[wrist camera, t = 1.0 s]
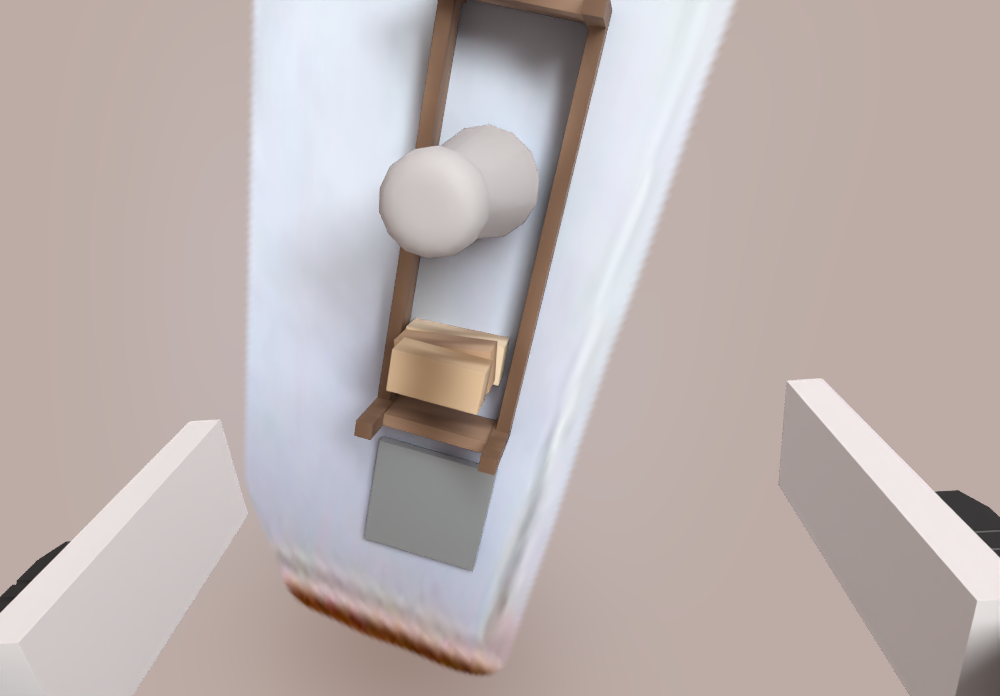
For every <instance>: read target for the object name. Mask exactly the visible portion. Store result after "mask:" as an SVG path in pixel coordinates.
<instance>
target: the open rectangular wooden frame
mask: <svg viewBox="0 0 1000 696" xmlns="http://www.w3.org/2000/svg"><path fill="white" fill-rule="evenodd" d="M475 1H480V2H485V3H490V4H495V5H500V6H504V7H509V8H514V9H519V10H524V11H528V12H533V13H538V14H543V15H548V16H552V17H557V18H562V19H567V20H572V21H576V22H581V23H586V26H587V28H589V30H588V35H587V39H586V43H585V48H584V52H583V56H582V61H581V65H580V69H579V74H578V78H577V82H576V86H575V91H574V95H573V99H572V104H571V108H570V112H569V117H568V121H567V125H566V130H565V134H564V138H563V143H562V147H561V151H560V156H559V160H558V164H557V169H556V173H555V177H554V182H553V186H552V190H551V195H550V199H549V203H548V207H547V212H546V216H545V220H544V225H543V229H542V233H541V238H540V242H539V246H538V251H537V255H536V259H535V264H534V268H533V272H532V277H531V281H530V285H529V290H528V294H527V298H526V303H525V307H524V311H523V316H522V320H521V324H520V328H519V333H518V337H517V341H516V346H515V350H514V354H513V359H512V363H511V367H510V372H509V376H508V380H507V385H506V389H505V393H504V398H503V402H502V406H501V411H500V415H499V418H498V419H497V421H495V420H492V419H488V418H484V417H481V416H477V415H474V414H470V413H466V412H463V411H459V410H456V409H452V408H448V407H445V406H441V405H438V404H434V403H430V402H427V401H423V400H420V399H416V398H412V397H409V396H405V395H401V394H398V393H394V392H390V391H387V390H386V388H387V381H388V375H389V368H390V361H391V354H392V349H393V348H394V339H396V338H397V337H398V336H399V335H400V334H401V333H402V332H403V331H404V330H405V329H406V326H407V325H408V324H409V322H410V316H411V310H412V304H413V298H414V292H415V286H416V280H417V274H418V268H419V262H420V256H419V255H417V254H414V253H411V252H408V251H405V250H404V249H403V248H402V247H400V254H399V260H398V267H397V274H396V280H395V287H394V293H393V300H392V306H391V313H390V320H389V326H388V333H387V339H386V346H385V352H384V359H383V365H382V372H381V379H380V385H379V392H378V397H377V399H376V400H375V401H374V402H373V403H372V404H371V405H370V406H369V407H368V408H367V409H366V411H365V412H364V413H363V414H362V415H361V416H360V417H359V418H358V419H357V420H356V427H355V434H354V436H358V437H361V438H365V439H368V440H371V439H372V438H373V436H374V435H375V434H376V433H377V431H378V430H379V429H380V428H381V426H382V425H384V426H387V427H391V428H395V429H398V430H402V431H405V432H409V433H412V434H416V435H419V436H423V437H426V438H430V439H433V440H437V441H440V442H444V443H447V444H451V445H454V446H458V447H462V448H465V449H469V450H472V451H476V452H479V453H482V455H481V458H480V462H479V467H478V471H480V472H483V473H487V474H490V475H494V476H495V473H496V470H497V468H498V465H499V462H500V460H501V457H502V455H503V452H504V449H505V447H506V444H507V442H508V439H509V436H510V432H511V428H512V424H513V420H514V416H515V412H516V408H517V403H518V399H519V395H520V391H521V387H522V383H523V379H524V374H525V370H526V366H527V362H528V358H529V354H530V349H531V345H532V341H533V337H534V333H535V329H536V325H537V320H538V316H539V312H540V308H541V304H542V300H543V296H544V291H545V287H546V283H547V279H548V275H549V271H550V267H551V262H552V258H553V254H554V250H555V246H556V242H557V237H558V233H559V229H560V225H561V221H562V217H563V213H564V208H565V204H566V200H567V196H568V192H569V188H570V184H571V179H572V175H573V171H574V167H575V163H576V159H577V155H578V150H579V146H580V142H581V138H582V134H583V130H584V126H585V121H586V117H587V113H588V109H589V105H590V101H591V96H592V92H593V88H594V84H595V80H596V76H597V72H598V67H599V63H600V59H601V55H602V51H603V47H604V43H605V38H606V34H607V30H608V26H609V22H610V18H611V14H612V7H611V1H610V0H475ZM462 2H464V3H466V0H438V5H437V11H436V18H435V24H434V31H433V37H432V44H431V51H430V57H429V64H428V70H427V77H426V83H425V90H424V96H423V103H422V110H421V116H420V123H419V129H418V136H417V142H416V149H419V148H425V147H431V146H439V140H440V134H441V128H442V122H443V116H444V110H445V104H446V98H447V92H448V85H449V79H450V73H451V67H452V61H453V55H454V49H455V43H456V37H457V31H458V25H459V19H460V13H461V7H462Z"/></svg>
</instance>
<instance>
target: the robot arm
mask: <svg viewBox="0 0 1000 696" xmlns="http://www.w3.org/2000/svg"><path fill="white" fill-rule="evenodd" d="M778 485H779V486H780V488H781V490H782V491H783V493H784V495H785V496H786V498H787V499H788V501H789V503H790V504H791V506H792V507H793V509H794V511H795V512H796V514H797V515H798V517H799V519H800V520H801V522H802V523H803V525H804V527H805V528H806V530H807V531H808V533H809V535H810V536H811V538H812V539H813V541H814V543H815V544H816V546H817V547H818V549H819V551H820V552H821V554H822V555H823V557H824V559H825V560H826V562H827V563H828V565H829V567H830V568H831V570H832V571H833V573H834V575H835V576H836V578H837V579H838V581H839V583H840V584H841V586H842V587H843V589H844V591H845V592H846V594H847V595H848V597H849V599H850V600H851V602H852V604H853V605H854V607H855V608H856V610H857V612H858V613H859V615H860V616H861V618H862V619H863V621H864V623H865V624H866V626H867V628H868V629H869V631H870V632H871V634H872V636H873V637H874V639H875V640H876V642H877V644H878V645H879V647H880V648H881V650H882V652H883V653H884V655H885V656H886V658H887V660H888V661H889V663H890V664H891V666H892V668H893V669H894V671H895V672H896V674H897V676H898V677H899V679H900V681H901V682H902V684H903V685H904V687H905V688H906V690H907V692H908V693H909V695H910V696H1000V517H999V516H998V515H997V514H996V513H995V512H993V510H991V509H990V508H989V507H988V506H985V505H984V504H982V503H980V502H978V501H976V500H975V499H973V498H971V497H969V496H967V495H965V494H964V493H962V492H960V491H958V490H956V491H938V492H934V491H933V490H932V489H931V488H930V487H929V486H928V485H927V484H926V483H925V482H924V481H923V480H922V479H921V478H920V477H919V476H918V475H917V474H916V473H915V472H914V471H913V470H912V469H911V468H910V467H909V466H908V465H907V464H906V463H905V462H904V461H903V460H902V459H901V458H900V457H899V456H898V455H897V454H896V453H895V452H894V451H893V450H892V449H891V448H890V447H889V446H888V445H887V444H886V442H885V441H884V440H883V439H882V438H880V436H879V435H878V434H876V432H875V431H873V430H872V428H871V427H870V426H869V425H868V424H867V423H866V422H865V421H864V420H863V419H862V418H861V417H860V416H859V415H858V414H857V413H856V412H855V411H854V410H853V409H852V408H851V407H850V406H849V405H848V404H847V403H846V402H845V401H844V400H843V399H842V398H841V397H840V396H839V395H838V394H837V393H836V392H835V391H834V390H833V389H832V388H831V387H830V386H829V385H828V384H827V383H826V382H825V381H824V380H823V379H822V378H820V379H806V380H791V381H787V382H786V396H785V407H784V420H783V432H782V446H781V458H780V470H779V484H778ZM247 516H248V513H247V509H246V506H245V502H244V499H243V495H242V492H241V488H240V485H239V482H238V478H237V475H236V472H235V468H234V465H233V461H232V458H231V455H230V451H229V447H228V444H227V440H226V437H225V434H224V430H223V427H222V423H221V420H220V419H218V420H204V421H191V422H188V423H187V424H186V425H185V427H183V428H182V430H181V431H179V432H178V434H177V435H176V436H175V437H174V438H173V439H172V440H171V441H170V442H169V443H168V444H167V445H166V446H165V447H164V448H163V449H162V450H161V451H160V452H159V453H158V454H157V455H156V456H155V457H154V458H153V459H152V460H151V461H150V462H149V463H148V464H147V465H146V466H145V467H144V468H143V469H142V470H141V471H140V472H139V473H138V474H137V475H136V476H135V477H134V478H133V479H132V480H131V481H130V482H129V483H128V484H127V485H126V486H125V487H124V488H123V489H122V490H121V491H120V492H119V493H118V494H117V495H116V496H115V497H114V498H113V499H112V500H111V501H110V502H109V503H108V504H107V505H106V507H104V509H102V510H101V512H100V513H98V515H97V516H96V517H95V518H94V519H93V520H92V521H91V522H90V523H89V524H88V525H87V526H86V527H85V528H84V529H83V530H82V531H81V532H80V533H79V534H78V535H77V536H76V537H75V538H74V539H73V540H72V541H69V542H65V543H63V544H62V545H60V546H59V547H57V548H55V549H54V550H52V551H51V552H49V553H48V554H46V555H45V556H43V557H42V558H40V559H39V560H37V561H36V562H35V563H34V564H33V565H32V566H31V567H30V568H29V569H28V570H27V571H26V572H25V573H24V574H23V575H22V576H21V577H20V578H19V579H18V580H17V584H16V585H12V586H11V587H10V588H9V589H8V590H7V591H6V592H5V593H4V594H3V595H2V596H1V597H0V696H133V694H134V693H135V691H136V690H137V688H138V686H139V685H140V683H141V682H142V680H143V679H144V677H145V675H146V674H147V672H148V671H149V669H150V668H151V666H152V665H153V663H154V661H155V660H156V658H157V657H158V655H159V654H160V652H161V651H162V649H163V647H164V646H165V644H166V643H167V641H168V640H169V638H170V637H171V635H172V633H173V632H174V630H175V628H176V627H177V625H178V624H179V622H180V621H181V619H182V618H183V616H184V615H185V613H186V612H187V610H188V608H189V607H190V605H191V604H192V602H193V601H194V599H195V597H196V596H197V594H198V593H199V591H200V589H201V588H202V586H203V585H204V583H205V581H206V580H207V579H208V577H209V576H210V574H211V572H212V571H213V569H214V568H215V566H216V565H217V563H218V561H219V560H220V558H221V557H222V555H223V554H224V552H225V551H226V549H227V547H228V546H229V544H230V543H231V541H232V540H233V538H234V536H235V535H236V533H237V532H238V530H239V529H240V527H241V526H242V524H243V522H244V521H245V519H246V518H247Z"/></svg>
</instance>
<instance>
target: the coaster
mask: <svg viewBox="0 0 1000 696" xmlns="http://www.w3.org/2000/svg"><path fill="white" fill-rule="evenodd" d="M478 467H479V464H478V463H474V462H471V461H467V460H464V459H460V458H457V457H453V456H450V455H446V454H443V453H439V452H436V451H432V450H429V449H425V448H422V447H418V446H415V445H411V444H408V443H404V442H401V441H397V440H393V439H390V438H386V437H383V436H382V438H381V439H380V440H379V446H378V452H377V459H376V465H375V471H374V478H373V484H372V490H371V497H370V503H369V509H368V516H367V522H366V528H365V535H364V538H365V539H368V540H371V541H375V542H378V543H381V544H385V545H388V546H391V547H394V548H398V549H401V550H404V551H408V552H411V553H414V554H418V555H421V556H424V557H427V558H431V559H434V560H437V561H441V562H444V563H447V564H450V565H454V566H457V567H460V568H464V569H467V570H470V571H473V569H474V566H475V562H476V558H477V554H478V550H479V546H480V541H481V537H482V533H483V529H484V525H485V520H486V516H487V512H488V508H489V504H490V499H491V495H492V491H493V487H494V483H495V478H496V474H497V470H498V469H497V470H496V473H495V476H494V475H490V474H487V473H483V472H480V471H478Z"/></svg>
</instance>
